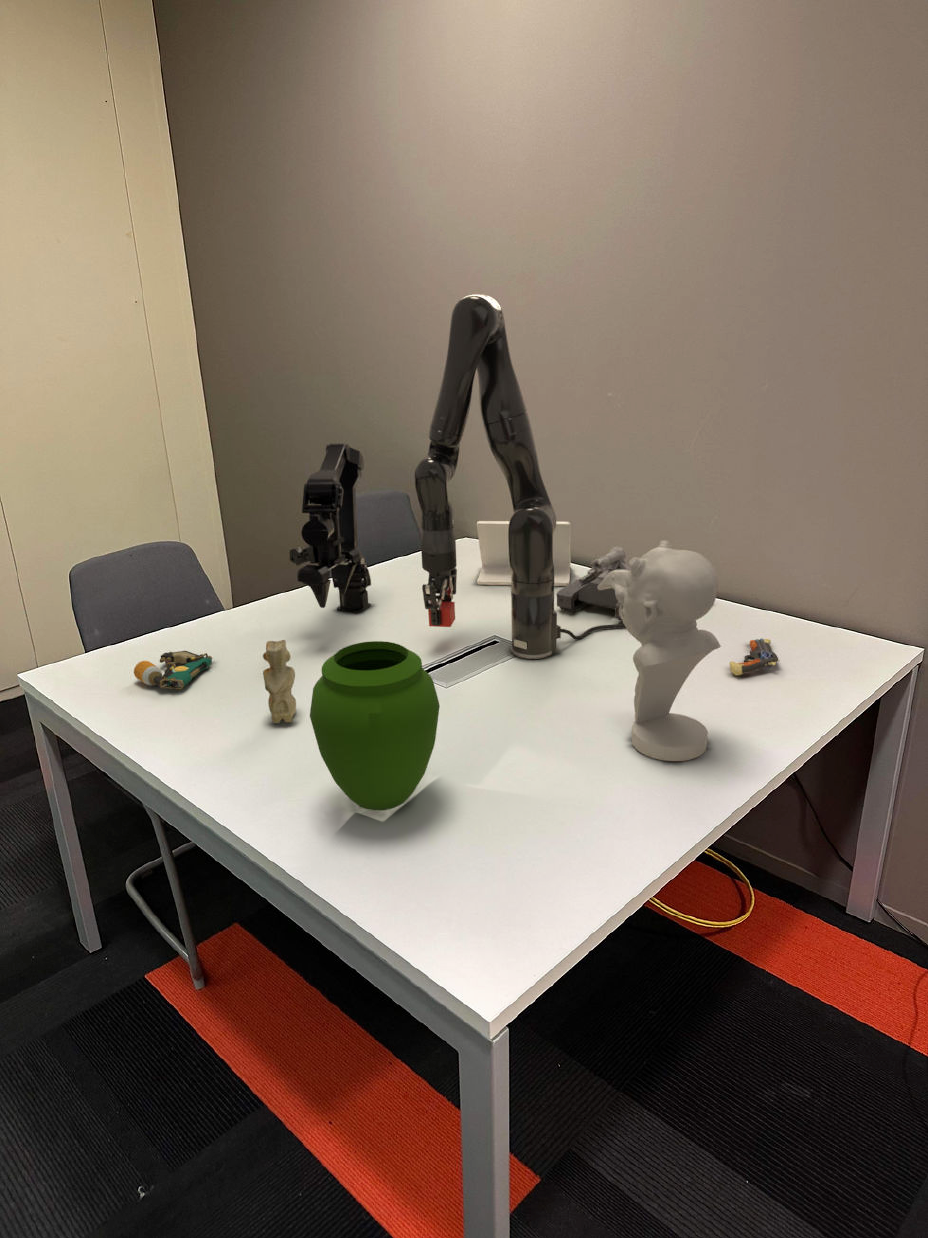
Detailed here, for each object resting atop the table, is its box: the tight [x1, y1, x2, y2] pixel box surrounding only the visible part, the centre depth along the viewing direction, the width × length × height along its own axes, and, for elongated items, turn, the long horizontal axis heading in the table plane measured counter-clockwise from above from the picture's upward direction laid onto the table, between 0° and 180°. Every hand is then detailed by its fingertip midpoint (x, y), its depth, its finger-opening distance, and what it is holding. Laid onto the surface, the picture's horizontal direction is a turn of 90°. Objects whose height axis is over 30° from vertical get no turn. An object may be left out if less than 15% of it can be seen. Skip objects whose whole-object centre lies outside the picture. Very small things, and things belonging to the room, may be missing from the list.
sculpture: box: [262, 639, 297, 724], centre depth 158 cm, size 6×7×15 cm
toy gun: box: [729, 638, 780, 676], centre depth 179 cm, size 3×19×10 cm
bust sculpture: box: [597, 540, 722, 762], centre depth 146 cm, size 16×24×35 cm
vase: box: [309, 640, 441, 811], centre depth 130 cm, size 20×20×24 cm
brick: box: [427, 601, 456, 628], centre depth 190 cm, size 5×5×4 cm
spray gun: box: [133, 650, 213, 690], centre depth 180 cm, size 4×17×15 cm
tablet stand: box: [476, 520, 572, 587], centre depth 236 cm, size 18×25×17 cm
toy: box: [556, 546, 630, 622], centre depth 212 cm, size 25×20×15 cm
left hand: (332, 600), depth 194 cm, fingers open, 9 cm apart
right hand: (441, 620), depth 191 cm, fingers closed on brick, 5 cm apart
